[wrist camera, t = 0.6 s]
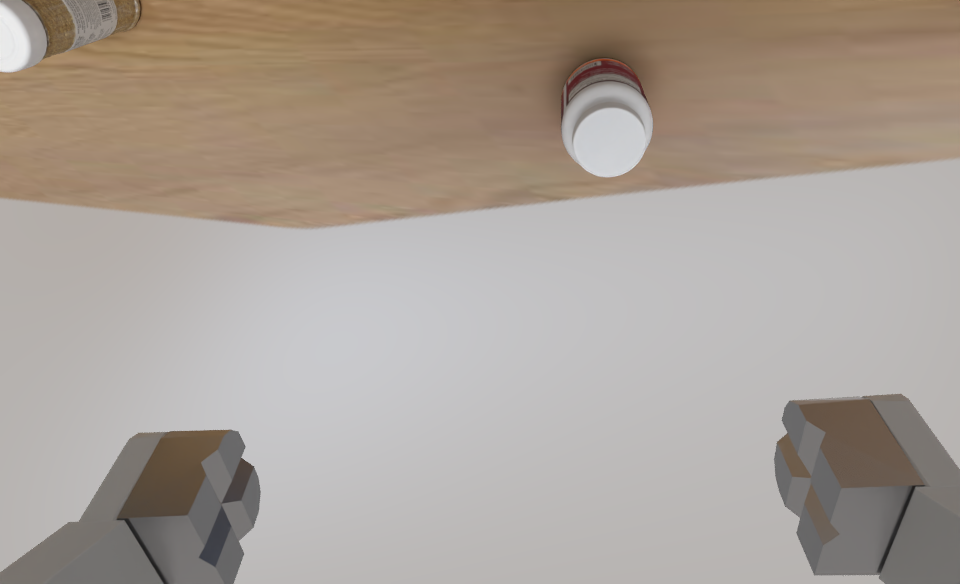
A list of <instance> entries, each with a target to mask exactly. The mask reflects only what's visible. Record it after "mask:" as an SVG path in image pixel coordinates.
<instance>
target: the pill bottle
mask: <svg viewBox="0 0 960 584" xmlns="http://www.w3.org/2000/svg"><path fill="white" fill-rule="evenodd" d="M561 132H562V139H563V143H564V145H565V148H566V150H567V152H568V153H569V155H570V156H571V157H572V158H573V159H574V160H575V161H576V162H577V163H578V164H580V165H581V166H582V167H583V168H584V169H585V170H586V171H588V172H589V173H591V174H594V175H596V176H600V177H615V176H619V175H622V174H624V173H626V172H628V171H629V170H631V169H632V168H633V167H635V166H636V165H637V163H638V162H639V161H640V159H641V158H642V156H643V154H644V151H645V150H646V148H647V147H648V145H649V142H650V140H651V137H652V132H653V118H652V113H651V109H650V107H649V104H648V102H647V99H646V97H645V94H644V91H643V89H642V86H641V83H640V81H639V79H638V77H637V76H636V74H635V73H634V72H633V71H632V70H631V69H630V68H629V67H628V66H627V65H625V64H624V63H622V62H620V61H617V60H614V59H608V58H601V59H595V60H591V61H588V62H586V63H584V64H582V65H581V66H579V67H578V68H577V69H576V70H575V71H574V72H573V73H572V74H571V75H570V77H569V78H568V80H567V81H566V83H565V86H564V89H563V92H562V98H561Z"/></svg>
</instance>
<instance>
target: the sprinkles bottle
mask: <svg viewBox="0 0 960 584" xmlns="http://www.w3.org/2000/svg"><path fill="white" fill-rule="evenodd" d="M139 17H140V3H139V0H0V71H1V72H16V71H20V70H23V69H26V68H29V67H32V66H34V65H36V64H37V63H39V62H40V61H41V60H43V59H44V58H47V57H50V56H52V55H55V54H60V53H64V52H67V51H69V50H72V49H75V48H78V47H80V46H83V45H86V44H89V43H92V42H95V41H97V40H100V39H103V38H106V37H108V36H109V35H111V34H114V33H117V32H124V31H128V30H130V29H131V28H133V27H134V26H135V25H136V23H137V22H138V19H139Z"/></svg>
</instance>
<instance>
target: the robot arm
mask: <svg viewBox="0 0 960 584" xmlns="http://www.w3.org/2000/svg"><path fill="white" fill-rule="evenodd" d="M782 421H783V424H784V426H785V428H786V430H787V434H786V435H785V436H784V437H782V438H781V439H780V440H779V441H778V442H777V446H776V452H775V458H774V461H775V474H776V475H775V476H776V480H777V484H778V488H779V492H780V494H781V497H782V499H783V502H784V504H785V507H787V508H788V509H789V510H791V511H792V512H793V513H795V514H796V515H797V516H798V517H800V521H799V526H798V530H797V535H798V538H799V540H800V542H801V545H802V547H803V550H804V552H805V554H806V557H807V559H808V561H809V564H810V566H811V568H812V571H813V573H814V575H880V576H879V579H880V580H882V581H883V582H884V583H885V584H960V469H959V468H958V467H957V465H956V464H955V462H954V461H953V460H952V458H951V457H950V455H949V454H948V453H947V451H946V450H945V449H944V447H943V446H942V445H941V443H940V442H939V440H938V439H937V437H936V436H935V435H934V433H933V432H932V431H931V429H930V428H929V426H928V425H927V424H926V422H925V421H924V420H923V418H922V417H921V416H920V414H919V413H918V411H917V410H916V408H915V407H914V406H913V404H912V403H911V402H910V400H909V399H908V398H906V397H905V396H903V395H902V394H891V395H875V396H863V397H843V398H827V399H810V400H793V401H789V402H788V404H787V405H786V407H785V409H784V413H783V417H782ZM244 449H245V445H244V442H243V440H242V438H241V436H240V434H239V432H238V431H233V430H207V431H171V432H157V433H155V432H154V433H138V434H136V435H135V436H133V437H132V438H130V439H129V440H128V442H127V443H126V445H125V447H124V448H123V450H122V452H121V453H120V455H119V456H118V458H117V460H116V461H115V463H114V465H113V466H112V468H111V469H110V471H109V473H108V474H107V476H106V478H105V479H104V481H103V483H102V484H101V486H100V487H99V489H98V491H97V492H96V494H95V496H94V498H93V499H92V501H91V502H90V504H89V506H88V507H87V509H86V511H85V512H84V514H83V515H82V517H81V519H80V520H79V522H69V523H67V524H66V525H64V526H63V527H62V528H60V529H59V530H58V531H56V532H55V533H54V534H52V535H51V536H49V537H48V538H47V539H45V540H44V541H43V542H41V543H40V544H38V545H37V546H36V547H34V548H33V549H32V550H30V551H29V552H27V553H26V554H25V555H23V556H22V557H21V558H19V559H18V560H17V561H15V562H14V563H12V564H11V565H10V566H8V567H7V568H6V569H4V570H3V571H2V572H0V584H233V583H234V580H235V578H236V575H237V572H238V569H239V567H240V564H241V561H242V558H243V555H244V552H243V550H242V548H241V545H240V543H239V540H240V539H242V538H243V537H244V536H245V535H246V534H247V533H248V532H249V531H250V530H251V529H252V528H253V527H254V524H255V521H256V518H257V515H258V511H259V503H260V485H259V479H258V476H257V473H256V471H255V468H254V466H252V465H251V464H249V463H248V462H246V461H245V460H244V459H242V458H241V457H242V454H243V452H244Z"/></svg>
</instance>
